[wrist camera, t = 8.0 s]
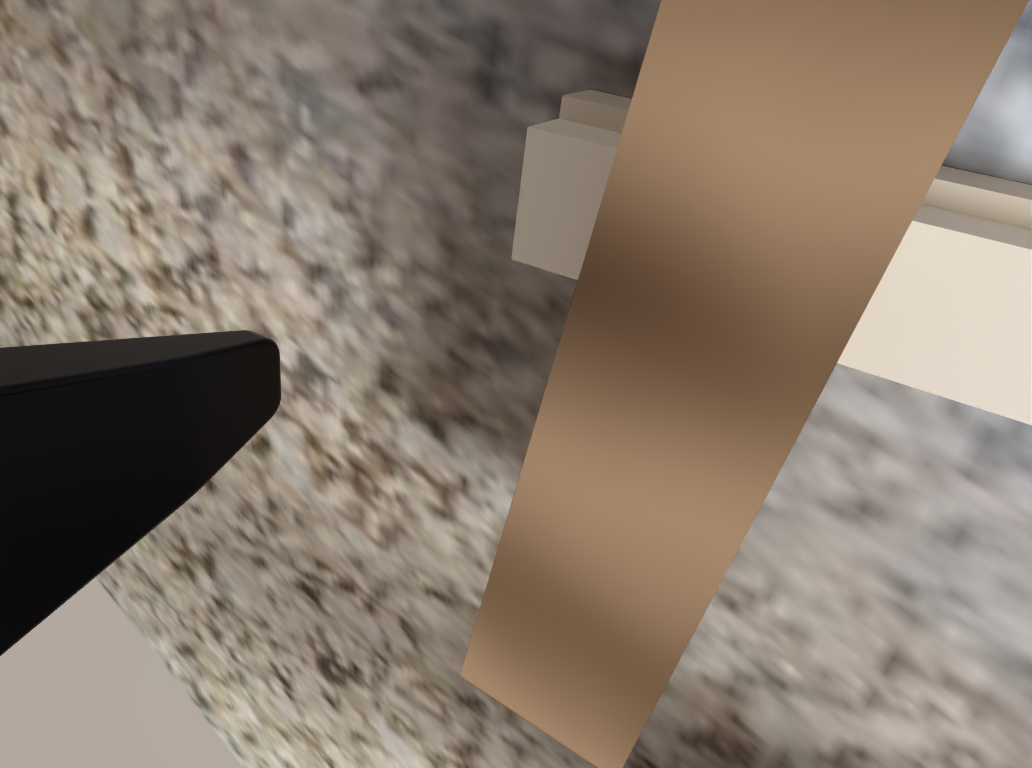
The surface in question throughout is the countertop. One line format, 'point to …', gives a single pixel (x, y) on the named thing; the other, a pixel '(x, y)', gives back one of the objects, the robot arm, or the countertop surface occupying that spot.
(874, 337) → the stepped block
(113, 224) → the countertop surface
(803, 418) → the walnut bar
